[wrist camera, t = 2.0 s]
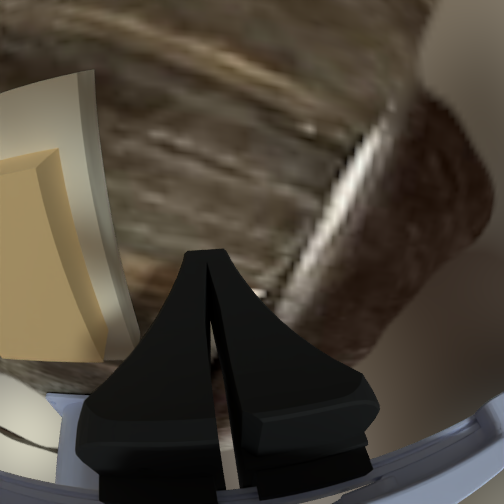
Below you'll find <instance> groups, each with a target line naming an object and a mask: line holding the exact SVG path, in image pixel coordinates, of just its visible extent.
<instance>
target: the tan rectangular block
mask: <svg viewBox="0 0 504 504" xmlns="http://www.w3.org/2000/svg"><path fill="white" fill-rule="evenodd" d="M107 335H108V327H107V325H106V322H105V320H104V317H103V314H102V312H101V309H100V306H99V303H98V300H97V298H96V295H95V292H94V289H93V286H92V283H91V280H90V277H89V274H88V270H87V267H86V264H85V261H84V257H83V254H82V250H81V247H80V243H79V240H78V236H77V232H76V229H75V225H74V221H73V217H72V213H71V208H70V204H69V200H68V195H67V191H66V186H65V181H64V176H63V171H62V165H61V160H60V154H59V148H55V149H49V150H44V151H39V152H34V153H29V154H25V155H20V156H16V157H11V158H7V159H3V160H0V356H1V357H2V358H6V359H19V360H34V361H54V362H103V360H104V353H105V347H106V341H107Z"/></svg>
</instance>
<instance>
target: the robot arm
mask: <svg viewBox="0 0 504 504" xmlns="http://www.w3.org/2000/svg"><path fill="white" fill-rule="evenodd" d="M210 320H211V325H212V330H213V334H214V339H215V343H216V348H217V352H218V357H219V361H220V365H221V369H222V374H223V379H224V385H225V392H226V399H227V406H228V413H229V420H230V427H231V434H232V440H233V447H234V453H235V459H236V466H237V473H238V479H239V485H240V489H233V490H226V486H225V480H224V473H223V467H222V461H221V453H220V447H219V440H218V432H217V425H216V418H215V410H214V402H213V394H212V385H211V335H210ZM46 399H47V401H48V402H49V403H50V404H51V405H52V406H53V408H54V409H55V410H56V411H57V412H58V413H59V415H60V416H61V417H62V422H61V430H60V438H59V446H58V456H57V467H56V481H55V484H54V483H49V482H44V481H40V480H35V479H31V478H26V477H22V476H18V475H15V474H11V473H7V472H4V471H0V504H299V503H304V502H308V501H312V500H316V499H320V498H324V497H327V496H331V495H335V494H338V493H342V492H345V491H348V490H352V489H355V488H358V487H361V486H364V485H366V486H364V487H362V488H359V489H357V490H354V491H352V492H349V493H347V494H344V495H342V497H341V499H339V500H338V501H336V502H334V503H332V504H457V503H459V502H460V501H462V500H463V499H465V498H466V497H467V496H469V495H470V494H472V493H473V492H474V491H476V490H477V489H478V488H480V487H481V486H482V485H484V484H485V483H486V482H488V481H489V480H490V479H491V478H493V477H494V476H495V475H496V474H498V473H499V472H500V471H501V470H503V469H504V392H502V393H500V394H499V395H497V396H495V397H494V398H492V399H490V400H489V401H487V402H486V403H485V404H484V405H482V406H481V407H480V408H479V409H478V410H477V411H476V413H475V414H474V415H472V416H470V417H468V418H466V419H465V420H463V421H461V422H459V423H457V424H455V425H453V426H451V427H449V428H447V429H445V430H443V431H441V432H438V433H436V434H434V435H432V436H429V437H427V438H425V439H423V440H420V441H418V442H416V443H414V444H411V445H408V446H406V447H403V448H401V449H398V450H396V451H393V452H390V453H388V454H385V455H382V456H379V457H377V458H373V459H370V458H369V456H368V453H367V451H366V448H365V446H367V445H368V440H367V438H366V435H365V433H364V432H365V431H366V429H367V428H368V427H369V426H370V424H371V423H372V422H373V421H374V419H375V418H376V416H377V414H378V413H379V410H380V406H379V403H378V400H377V398H376V396H375V394H374V392H373V390H372V388H371V387H370V385H369V384H368V382H367V380H366V379H365V377H364V375H363V374H362V373H360V372H358V371H356V370H354V369H352V368H350V367H348V366H346V365H344V364H343V363H341V362H339V361H337V360H335V359H333V358H331V357H330V356H328V355H326V354H325V353H323V352H322V351H320V350H318V349H317V348H315V347H314V346H313V345H311V344H310V343H309V342H307V341H306V340H304V339H303V338H302V337H300V336H299V335H298V334H296V333H295V332H294V331H293V330H291V329H290V328H289V327H288V326H287V325H286V324H284V323H283V322H282V321H281V320H280V319H279V318H278V317H277V316H276V315H275V314H274V313H273V312H272V311H271V310H270V309H269V308H268V307H267V306H266V305H265V304H264V303H263V302H262V301H261V300H260V299H259V298H258V296H257V295H256V294H255V293H254V292H253V290H252V289H251V288H250V287H249V285H248V284H247V283H246V281H245V280H244V279H243V277H242V276H241V275H240V273H239V272H238V270H237V269H236V267H235V266H234V264H233V262H232V261H231V259H230V257H229V255H228V253H227V251H226V250H224V249H210V250H195V251H187V252H186V253H185V254H184V258H183V262H182V265H181V268H180V271H179V273H178V276H177V278H176V280H175V282H174V285H173V287H172V289H171V291H170V293H169V295H168V297H167V299H166V301H165V303H164V305H163V306H162V308H161V310H160V312H159V314H158V315H157V317H156V319H155V320H154V322H153V323H152V325H151V326H150V328H149V329H148V331H147V332H146V334H145V335H144V336H143V338H142V339H141V340H140V342H139V343H138V345H137V346H136V347H135V348H134V350H133V351H132V352H131V353H130V355H129V356H128V357H127V358H126V359H125V360H124V361H123V363H122V364H121V365H120V366H119V367H118V368H117V369H116V370H115V371H114V373H113V374H112V375H111V376H110V377H109V378H108V379H107V380H106V381H105V382H104V383H103V384H102V385H100V386H99V387H98V388H97V389H96V390H95V391H94V392H93V393H92V394H91V395H72V394H57V393H47V394H46ZM370 483H371V484H370ZM367 484H369V485H367Z"/></svg>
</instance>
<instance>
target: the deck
mask: <svg viewBox="0 0 504 504" xmlns="http://www.w3.org/2000/svg"><path fill="white" fill-rule="evenodd" d="M55 148H59V154H60V160H61V165H62V171H63V176H64V181H65V186H66V191H67V195H68V200H69V204H70V208H71V213H72V217H73V221H74V225H75V229H76V232H77V236H78V240H79V243H80V247H81V250H82V254H83V257H84V261H85V264H86V267H87V270H88V274H89V277H90V280H91V283H92V286H93V289H94V292H95V295H96V298H97V300H98V303H99V306H100V309H101V312H102V314H103V317H104V320H105V322H106V325H107V327H108V335H107V341H106V347H105V353H104V360H125V359H126V358H127V357H128V356H129V355H130V353H131V352H132V351H133V350H134V348H135V347H136V346H137V345H138V343H139V342H140V329H139V326H138V323H137V319H136V316H135V312H134V309H133V305H132V302H131V298H130V294H129V291H128V287H127V283H126V279H125V275H124V271H123V267H122V263H121V258H120V254H119V250H118V245H117V240H116V236H115V231H114V226H113V221H112V216H111V211H110V205H109V199H108V194H107V188H106V181H105V175H104V168H103V161H102V154H101V146H100V137H99V128H98V118H97V107H96V94H95V77H94V70H89V71H83V72H78V73H73V74H69V75H64V76H60V77H56V78H52V79H48V80H44V81H40V82H36V83H33V84H29V85H26V86H22V87H19V88H16V89H12V90H9V91H6V92H3V93H0V160H3V159H7V158H11V157H16V156H20V155H25V154H29V153H34V152H39V151H44V150H49V149H55Z"/></svg>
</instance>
